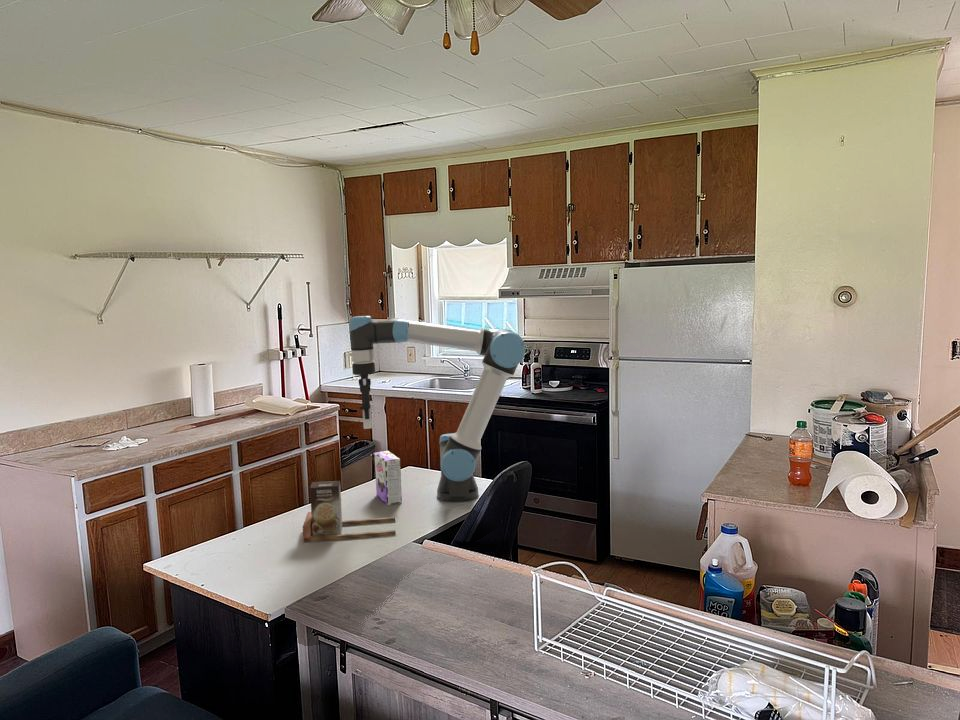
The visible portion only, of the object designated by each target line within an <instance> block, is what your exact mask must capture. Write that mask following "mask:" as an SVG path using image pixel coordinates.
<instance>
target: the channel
mask: <svg viewBox="0 0 960 720" xmlns="http://www.w3.org/2000/svg"><path fill="white" fill-rule="evenodd" d="M304 519H305V520H304V521H303V525H302V537H303V543H314V542H329V541H337V540H338V541H339V540H351V539H352V540H353V539H364V538H374V537H375V538H376V537H377V538H378V537H386V536H396V535H397V534H396V533H397V532H396V529H391V530H390V529H389V530H380V531H379V530H378V531H377V530H376V531H366V532H355V533H341V534H340V535H327V536H315V537H312V517H311V511H309V512H308V511H307V514H306V516H305V518H304ZM395 522H396V517H395V516H390V517H389V516H387V517H377V518H364V519H363V518H362V519H351V520H349V519H348V520H342V527H343V526H355V525H369V524H370V525H371V524H380V523H381V524H383V523H395Z"/></svg>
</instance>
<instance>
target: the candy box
mask: <svg viewBox="0 0 960 720" xmlns="http://www.w3.org/2000/svg"><path fill="white" fill-rule="evenodd" d="M373 454H374V469H375V487H376V488H375V489H376V492H375V493H376V496H377V497H378V498H379V499H380V500H381V501H382V502H383V503H384V504H385V505H386V506H391V505H397V504H398V503H399V504H402V501H403V499H402V497H403V496H402V476H401V475H402V474H401V473H402V472H401V458H400V457H398V456H396V455H395V454H394V453H392V452H391V451H390V450H383V451H377V452H374V453H373Z"/></svg>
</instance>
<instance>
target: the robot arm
mask: <svg viewBox="0 0 960 720" xmlns="http://www.w3.org/2000/svg"><path fill="white" fill-rule="evenodd" d="M348 324H349V326H348V327H349V330H348V332H349V342H350V353H349V356H350V357H351V362H352V364H351V367H352V374H353V375H354V376H360V379H358V386H359V390H360V391H359V392H360V393H361V404H362V405H361V406H360V409H359V410H361V411H362V412H361V413H362V422H363V423H362V425H363V430H367V429H369V430H370V429H373V423H372V421H373V415H372V404H371V403H372V402H373V398H372V397H371V395H370V393H371V385H372V381H371V378H369V375H372V374H373V375H374V374H375V373H376V363H375V348H374V344H376V345H377V344H393V343H394V344H395V343H396V344H397V343H398V344H399V343H407V342H408V343H414V344H421V345H428V346H434V347H442V348H447V349H448V348H449V349H455V350H456V349H457V350H462V351H471V352H476V353H477V355H479V356H483V359H482V360H481V363H482V366H483V370H482V372H481V374H480V377H479V380H478V382H477V384H476V387H475V388H474V391H473V393H472V396H471V398H470V400H469V402H468V405H467V408H466V409H465V412H464V414H463V416H462V418H461V421H460V423H459V426H458V428H457V430H456V432H453V433H445V434H441V435H440V436H439V443H438V444H439V454H440V455H439V456H440V461H439V462H440V463H439V465H440V479H439V481H438V486H437V489H436V497H437V499H439V500H440V501H444V502H453V503H454V502H455V503H457V502H467V501H470V500H473V499H476V498H478V496H479V487H478V484H477V481H476V480H475V477H474V472H475V470H476V466H477V465H476V464H477V460H478V458H479V455H480V453H481V451H482V445H481V441H482V440H481V439H482V438H483V435H484V433H485V430H486V428H487V426H488V423H489V421H490V419H491V417H492V414H493V411H494V410H495V408H496V405H497V403H498V400H499V399H500V396H501V393H502V392H503V389H504V387H505V385H506V381H507V380H508V379H509V378H511V377H513V376H514V375H515V372H516V371H517V367H518V365H519V364H521V362H522V361H523V360H524V358H525V355H526V345H525V342H524V340H523V339H522V337H521V336H520V335H519V334H518V333H516V332H514V331H512V330H510V329H507V328H506V329H504V328H499V329H497V328H496V329H495V328H485V327H483V328H481V329H479V330H477V329H470V328H463V327H456V326H455V327H454V326H448V325H443V324H442V325H441V324H436V323H435V324H434V323H427V322H422V321H421V322H419V321H413V320H407V319H400V318H397V317H390V318H388V319H386V320H379V321H378V320H377V321H373V320H372V316H371V315H358V316H352V317H350V318H349V320H348Z"/></svg>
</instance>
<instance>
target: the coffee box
mask: <svg viewBox="0 0 960 720" xmlns="http://www.w3.org/2000/svg"><path fill="white" fill-rule="evenodd" d="M309 493H310V495H309V496H310V512H311V517H312V537H315V536H327V535H340V534H343V533H342V532H343V526H342V521H343V514H342V496H341V495H342V494H341V493H342V492H341V480H333V481H332V480H331V481H329V480H328V481H327V480H326V481H312V482H311V484H310V487H309Z"/></svg>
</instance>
